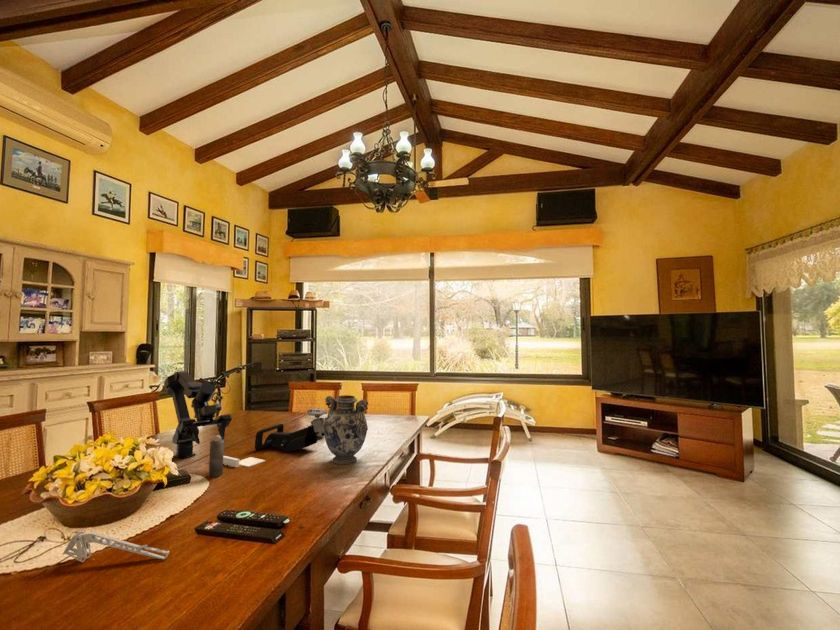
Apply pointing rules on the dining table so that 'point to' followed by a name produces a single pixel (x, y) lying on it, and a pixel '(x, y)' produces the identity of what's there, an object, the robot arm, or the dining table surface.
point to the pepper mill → (216, 457)
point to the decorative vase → (345, 427)
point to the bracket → (91, 538)
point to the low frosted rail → (230, 461)
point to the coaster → (250, 462)
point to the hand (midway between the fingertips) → (211, 441)
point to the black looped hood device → (286, 438)
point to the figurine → (317, 420)
